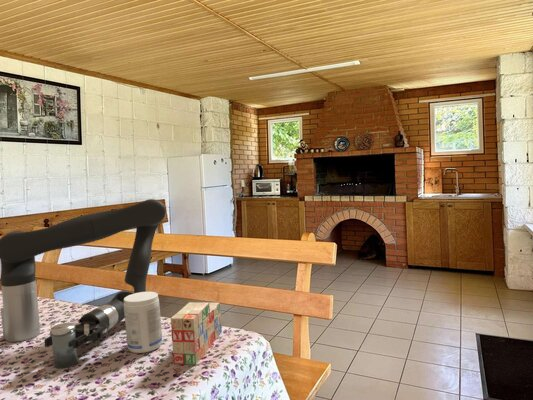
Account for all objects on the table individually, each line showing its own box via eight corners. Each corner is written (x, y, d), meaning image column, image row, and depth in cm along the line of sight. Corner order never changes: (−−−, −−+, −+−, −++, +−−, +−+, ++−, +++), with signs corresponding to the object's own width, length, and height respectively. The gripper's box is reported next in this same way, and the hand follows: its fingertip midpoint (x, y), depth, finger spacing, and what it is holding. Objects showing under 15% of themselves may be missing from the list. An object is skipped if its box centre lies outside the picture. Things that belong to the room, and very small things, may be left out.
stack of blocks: (202, 331, 121) (200, 292, 120) (222, 332, 120) (219, 292, 119) (173, 364, 100) (170, 317, 99) (196, 366, 99) (193, 318, 98)
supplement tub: (159, 337, 118) (155, 289, 117) (165, 349, 109) (162, 297, 108) (125, 344, 114) (121, 294, 113) (129, 357, 105) (125, 303, 104)
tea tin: (48, 368, 101) (45, 330, 101) (64, 358, 107) (61, 322, 106) (67, 369, 100) (64, 331, 99) (82, 359, 105) (80, 322, 105)
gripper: (77, 308, 118) (35, 329, 103) (119, 309, 115) (82, 330, 99) (79, 332, 119) (37, 357, 103) (121, 334, 116) (85, 359, 100)
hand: (59, 344), depth 101 cm, fingers open, 8 cm apart
